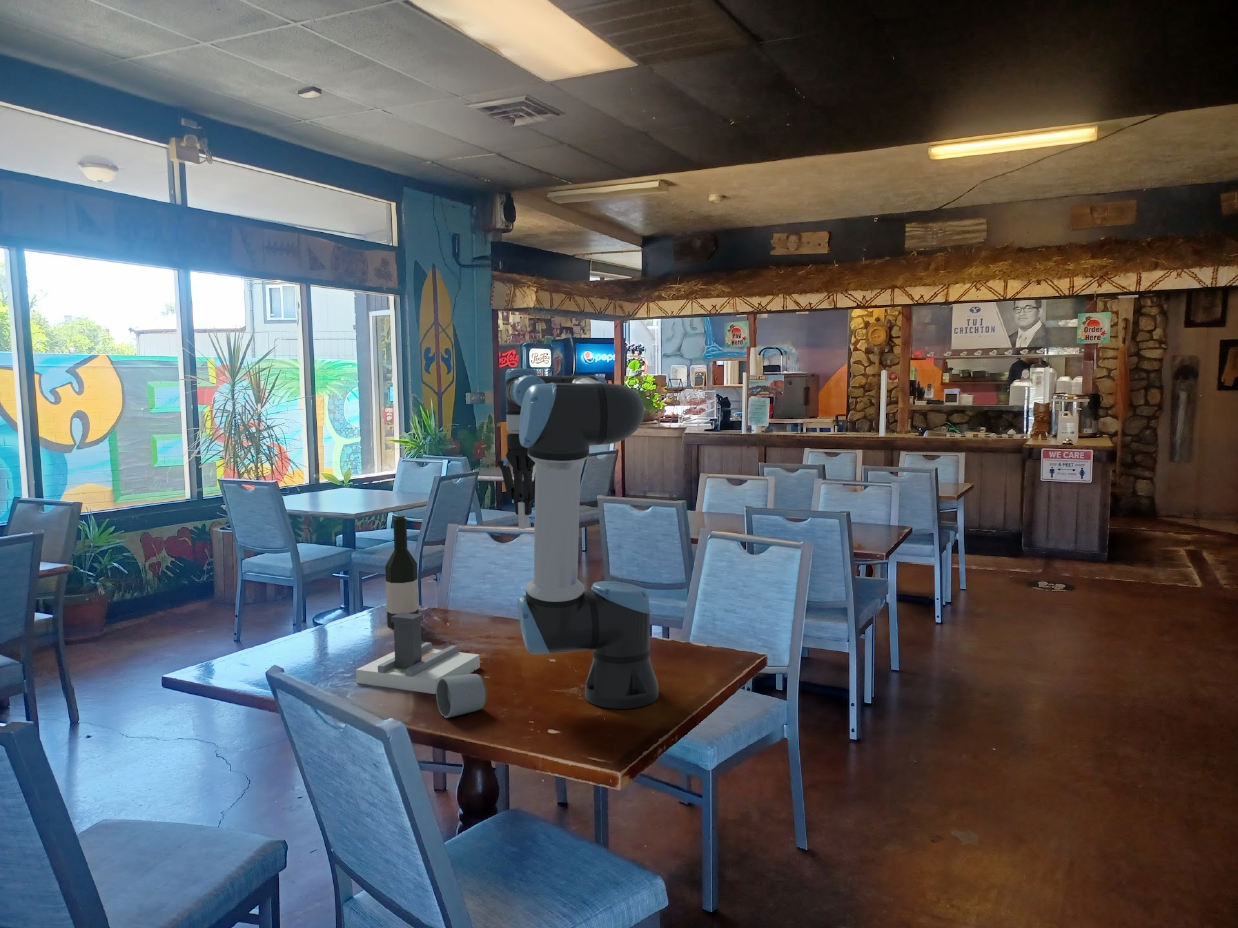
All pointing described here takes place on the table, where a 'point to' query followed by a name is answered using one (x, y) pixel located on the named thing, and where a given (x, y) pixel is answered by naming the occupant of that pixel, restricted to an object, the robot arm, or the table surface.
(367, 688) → the table surface
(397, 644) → the handle
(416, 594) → the wine bottle
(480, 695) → the ceramic mug
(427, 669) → the plate
